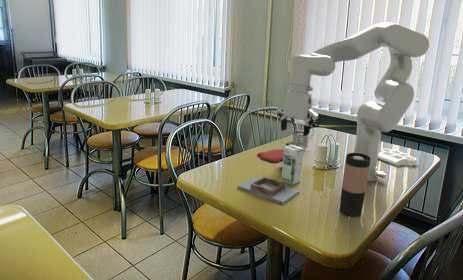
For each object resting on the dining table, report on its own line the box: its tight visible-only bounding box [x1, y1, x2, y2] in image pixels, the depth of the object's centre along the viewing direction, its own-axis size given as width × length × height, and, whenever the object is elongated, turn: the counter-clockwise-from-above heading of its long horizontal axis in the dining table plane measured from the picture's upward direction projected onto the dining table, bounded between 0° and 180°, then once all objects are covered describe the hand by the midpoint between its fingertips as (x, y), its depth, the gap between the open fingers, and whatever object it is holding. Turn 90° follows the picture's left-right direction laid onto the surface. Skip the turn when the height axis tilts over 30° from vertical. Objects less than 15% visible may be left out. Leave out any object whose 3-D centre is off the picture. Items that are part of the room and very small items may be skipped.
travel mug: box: [339, 152, 371, 218], centre depth 122 cm, size 8×8×20 cm
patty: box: [256, 149, 284, 164], centre depth 175 cm, size 18×14×2 cm
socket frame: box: [250, 176, 287, 196], centre depth 138 cm, size 10×10×2 cm
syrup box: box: [280, 145, 305, 186], centre depth 146 cm, size 6×6×14 cm
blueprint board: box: [237, 176, 300, 205], centre depth 138 cm, size 20×12×1 cm, turn 52°
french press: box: [292, 119, 315, 152], centre depth 185 cm, size 10×12×25 cm
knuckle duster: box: [377, 147, 418, 167], centre depth 176 cm, size 3×18×15 cm
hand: (294, 132), depth 142 cm, fingers open, 9 cm apart
